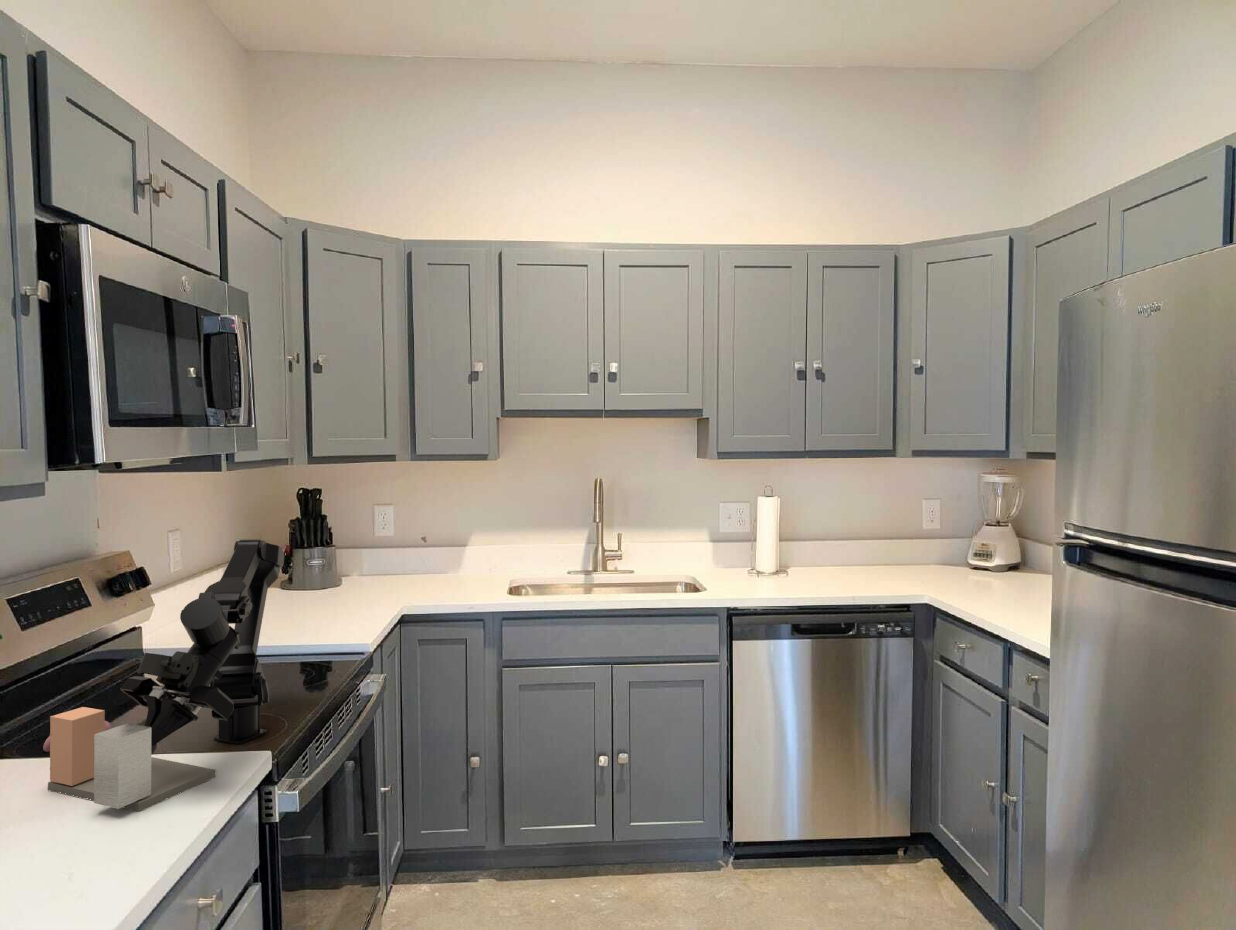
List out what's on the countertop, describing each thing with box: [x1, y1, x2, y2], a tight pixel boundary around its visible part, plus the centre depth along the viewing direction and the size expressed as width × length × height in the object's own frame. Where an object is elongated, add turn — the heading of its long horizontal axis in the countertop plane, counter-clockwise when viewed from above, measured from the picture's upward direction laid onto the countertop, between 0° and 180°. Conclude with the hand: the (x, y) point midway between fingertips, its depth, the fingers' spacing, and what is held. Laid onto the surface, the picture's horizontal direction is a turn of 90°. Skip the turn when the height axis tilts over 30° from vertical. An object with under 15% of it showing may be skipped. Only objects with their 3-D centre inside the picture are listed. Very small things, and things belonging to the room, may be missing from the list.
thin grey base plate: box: [47, 756, 217, 812], centre depth 119 cm, size 13×20×1 cm, turn 69°
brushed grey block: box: [93, 722, 152, 810], centre depth 110 cm, size 5×5×10 cm
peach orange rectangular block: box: [49, 706, 106, 786], centre depth 118 cm, size 5×5×10 cm
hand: (141, 749), depth 113 cm, fingers closed, pressing on brushed grey block
